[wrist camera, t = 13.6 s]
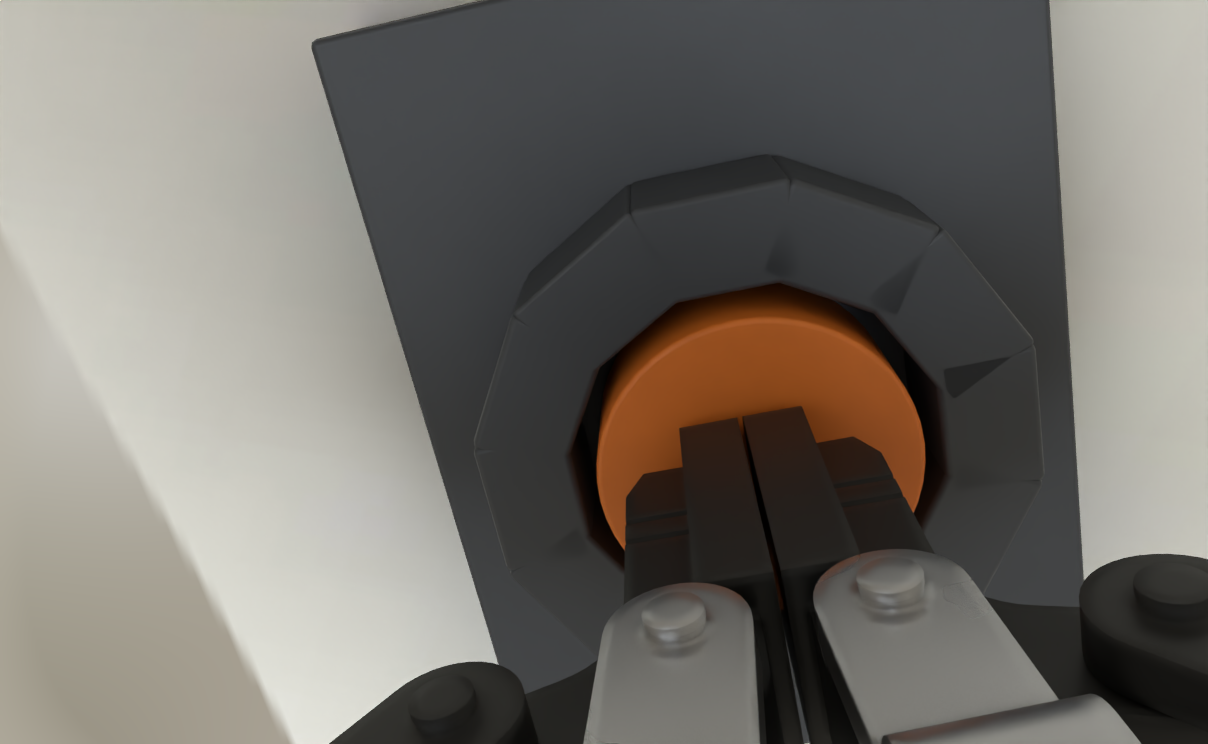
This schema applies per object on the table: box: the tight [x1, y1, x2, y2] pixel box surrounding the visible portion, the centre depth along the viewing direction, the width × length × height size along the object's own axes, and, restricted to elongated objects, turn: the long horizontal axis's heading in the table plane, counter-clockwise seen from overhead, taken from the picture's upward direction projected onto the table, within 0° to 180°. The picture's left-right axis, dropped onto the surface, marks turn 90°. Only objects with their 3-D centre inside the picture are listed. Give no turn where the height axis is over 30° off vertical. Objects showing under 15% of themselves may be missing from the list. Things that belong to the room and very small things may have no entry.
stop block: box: [312, 0, 1084, 744], centre depth 14 cm, size 12×9×4 cm
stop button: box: [596, 283, 926, 551], centre depth 13 cm, size 4×4×2 cm
